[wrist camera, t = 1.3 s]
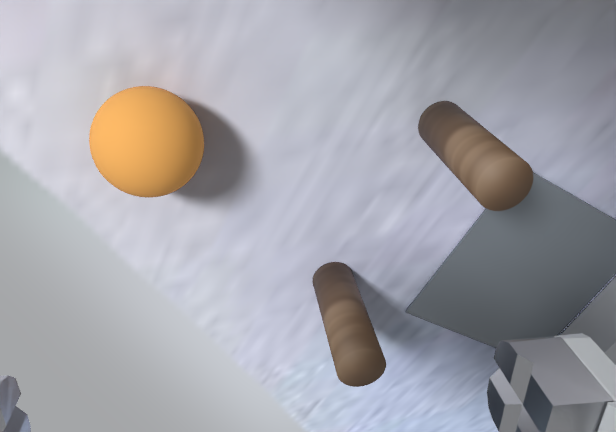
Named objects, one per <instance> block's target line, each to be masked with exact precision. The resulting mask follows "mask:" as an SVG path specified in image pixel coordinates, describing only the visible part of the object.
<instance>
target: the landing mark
mask: <svg viewBox="0 0 616 432" xmlns="http://www.w3.org/2000/svg"><path fill="white" fill-rule="evenodd" d="M615 274H616V220H615V219H613V218H612V217H610V216H608V215H606V214H605V213H603V212H601V211H599V210H598V209H596V208H594V207H592V206H591V205H589V204H587V203H586V202H584V201H582V200H580V199H579V198H577V197H575V196H573V195H572V194H570V193H568V192H566V191H565V190H563V189H561V188H560V187H558V186H556V185H554V184H553V183H551V182H549V181H547V180H546V179H544V178H542V177H540V176H539V175H537V174H535V173H534V172H533V184H532V187H531V189H530V191H529V193H528V195H527V196H526V197H525V198H524V199H523V200H522V201H521V202H520V203H519V204H517V205H516V206H514V207H512V208H510V209H507V210H504V211H492V210H489V209H485V210H484V211H483V213H482V214H481V215H480V217H479V218H478V219H477V220H476V222H475V223H474V224H473V226H472V227H471V228H470V229H469V231H468V232H467V233H466V234H465V236H464V237H463V238H462V240H461V241H460V242H459V243H458V245H457V246H456V247H455V249H454V250H453V251H452V252H451V254H450V255H449V256H448V257H447V259H446V260H445V261H444V263H443V264H442V265H441V266H440V268H439V269H438V270H437V272H436V273H435V274H434V275H433V277H432V278H431V279H430V280H429V282H428V283H427V284H426V286H425V287H424V288H423V289H422V291H421V292H420V293H419V295H418V296H417V297H416V298H415V300H414V301H413V302H412V303H411V305H410V306H409V307H408V309H407V310H406V313H409V314H411V315H414V316H416V317H419V318H421V319H424V320H426V321H429V322H431V323H434V324H436V325H439V326H442V327H444V328H447V329H449V330H452V331H454V332H457V333H459V334H462V335H464V336H467V337H469V338H472V339H475V340H477V341H480V342H482V343H485V344H487V345H490V346H492V347H495V348H496V347H497V345H498V344H499V343H500V341H501V340H513V339H526V338H539V337H554V336H557V335H558V334H559V333H560V332H561V331H562V330H563V329H564V328H565V327H566V326H567V325H568V324H569V323H570V321H571V320H572V319H573V318H574V317H575V316H576V315H577V314H578V313H579V312H580V311H581V310H582V309H583V308H584V307H585V306H586V305H587V303H588V302H589V301H590V300H591V299H592V298H593V297H594V296H595V295H596V294H597V293H598V292H599V291H600V290H601V289H602V288H603V287H604V285H605V284H606V283H607V282H608V281H609V280H610V279H611V278H612V277H613V276H614V275H615Z"/></svg>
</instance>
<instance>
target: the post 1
mask: <svg viewBox="0 0 616 432" xmlns="http://www.w3.org/2000/svg"><path fill="white" fill-rule="evenodd" d="M313 286H314V289H315V293H316V297H317V301H318V304H319V308H320V312H321V316H322V320H323V323H324V327H325V331H326V335H327V338H328V342H329V346H330V350H331V354H332V357H333V361H334V365H335V369H336V372H337V376H338V378H339V380H340V381H341V382H343V383H344V384H346V385H349V386H356V387H357V386H364V385H368V384H370V383H373V382H374V381H376V380H377V379H378V378H380V376H381V375H382V374H383V373H384V371H385V368H386V361H385V358H384V355H383V353H382V350H381V347H380V345H379V342H378V339H377V337H376V334H375V332H374V329H373V326H372V324H371V321H370V318H369V316H368V313H367V310H366V308H365V305H364V303H363V300H362V297H361V295H360V292H359V289H358V287H357V284H356V281H355V279H354V276H353V274H352V271H351V269H350V268H349V267H348V266H347V265H345V264H343V263H340V262H331V263H327V264H325V265H323V266H321V267H320V268H319V269H318V270H317V271H316V272H315V274H314V276H313Z"/></svg>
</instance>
